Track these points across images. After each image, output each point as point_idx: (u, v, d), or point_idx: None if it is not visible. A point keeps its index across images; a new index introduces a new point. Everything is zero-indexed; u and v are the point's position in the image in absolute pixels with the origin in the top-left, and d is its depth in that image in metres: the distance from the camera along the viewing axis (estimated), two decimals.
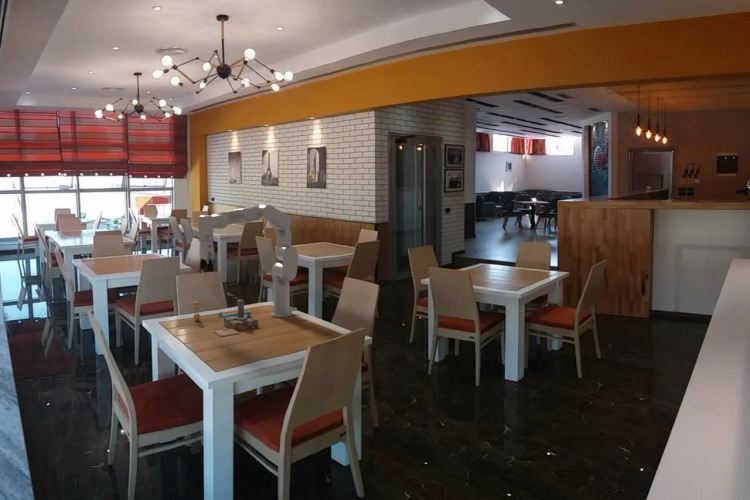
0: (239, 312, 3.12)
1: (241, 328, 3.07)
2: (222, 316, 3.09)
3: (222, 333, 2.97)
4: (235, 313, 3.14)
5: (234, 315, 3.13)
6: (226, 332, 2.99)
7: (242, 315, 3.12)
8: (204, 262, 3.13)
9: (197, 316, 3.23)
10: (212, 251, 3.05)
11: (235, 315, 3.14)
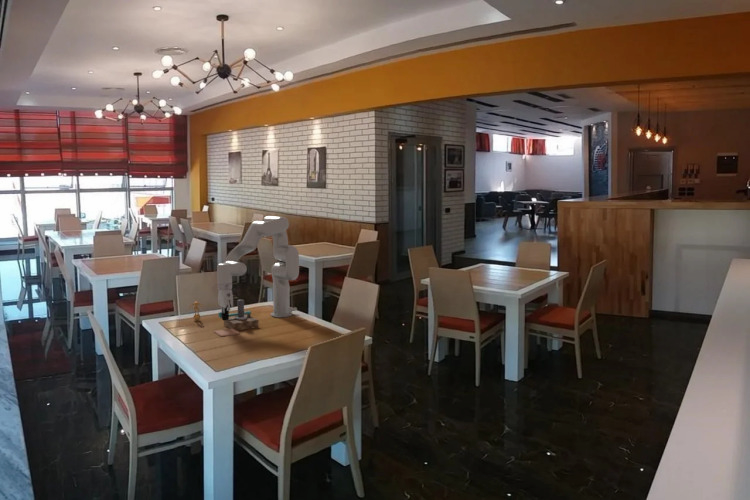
0: (239, 312, 3.12)
1: (241, 328, 3.07)
2: None
3: (222, 333, 2.97)
4: (235, 313, 3.14)
5: (234, 315, 3.14)
6: (226, 332, 2.99)
7: (242, 315, 3.12)
8: None
9: (197, 316, 3.23)
10: (231, 299, 3.04)
11: (235, 315, 3.14)
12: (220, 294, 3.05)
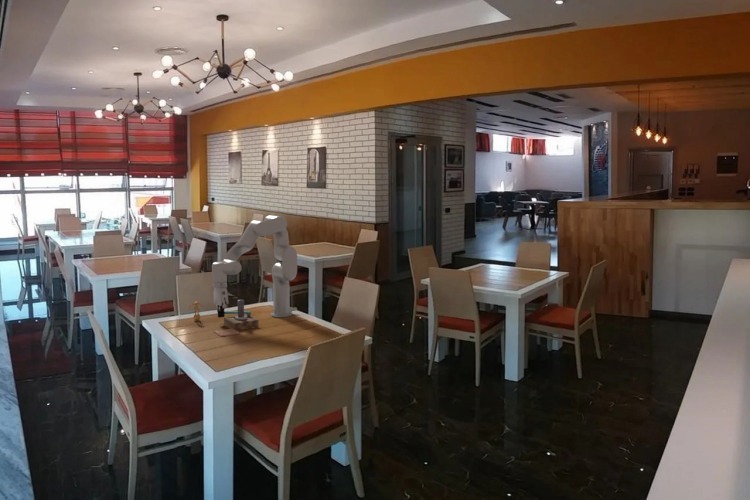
0: (239, 312, 3.12)
1: (241, 328, 3.07)
2: None
3: (222, 333, 2.97)
4: (234, 311, 3.19)
5: (232, 313, 3.18)
6: (226, 332, 2.99)
7: (242, 315, 3.12)
8: None
9: (197, 316, 3.23)
10: (226, 297, 3.11)
11: (233, 313, 3.18)
12: (215, 292, 3.12)
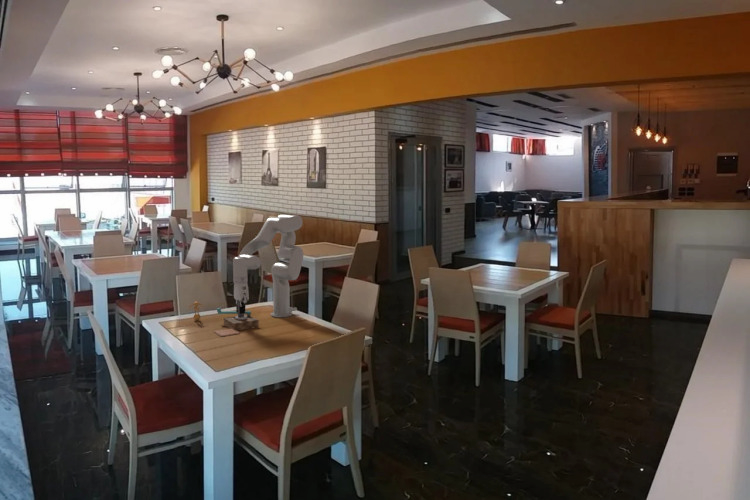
0: (239, 312, 3.12)
1: (241, 328, 3.07)
2: (220, 312, 3.18)
3: (222, 333, 2.97)
4: (234, 311, 3.19)
5: (232, 313, 3.18)
6: (226, 332, 2.99)
7: (242, 315, 3.12)
8: None
9: (197, 316, 3.23)
10: (247, 292, 3.09)
11: (233, 313, 3.18)
12: (236, 287, 3.10)
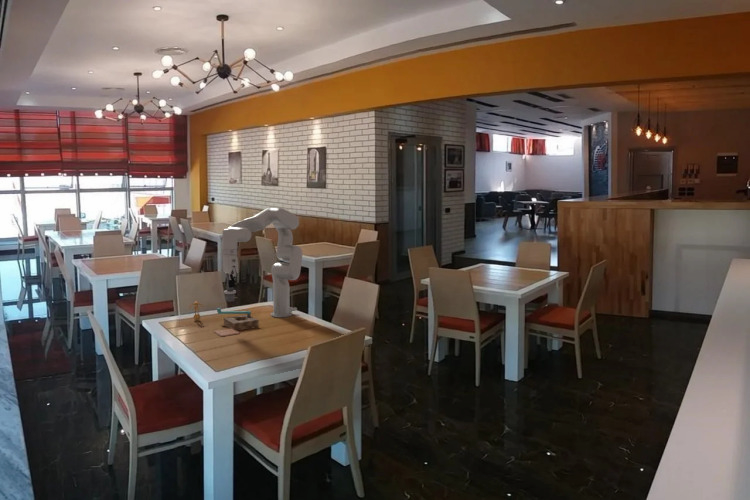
0: (228, 286, 2.99)
1: (241, 328, 3.07)
2: (220, 312, 3.18)
3: (222, 333, 2.97)
4: (234, 311, 3.19)
5: (232, 313, 3.18)
6: (226, 332, 2.99)
7: (231, 289, 3.00)
8: None
9: (197, 316, 3.23)
10: (236, 265, 2.97)
11: (233, 313, 3.18)
12: (225, 260, 2.98)
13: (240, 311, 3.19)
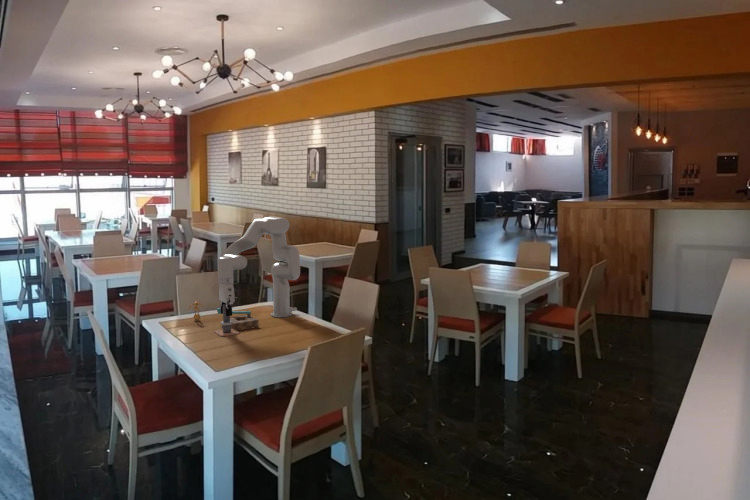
0: (224, 317, 2.97)
1: (241, 328, 3.07)
2: (220, 312, 3.18)
3: (222, 333, 2.97)
4: (234, 311, 3.19)
5: (232, 313, 3.18)
6: None
7: (228, 320, 2.98)
8: None
9: (197, 316, 3.23)
10: (232, 294, 2.94)
11: (233, 313, 3.18)
12: (221, 289, 2.95)
13: (240, 311, 3.19)
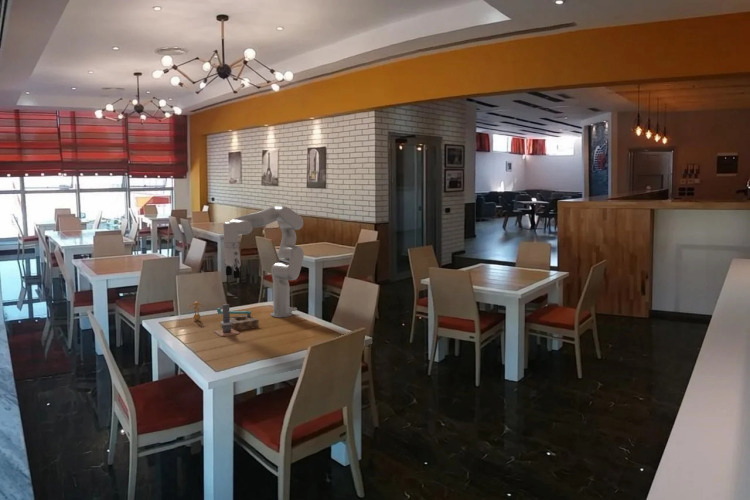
0: (224, 317, 2.97)
1: (241, 328, 3.07)
2: (220, 312, 3.18)
3: (222, 333, 2.97)
4: (234, 311, 3.19)
5: (232, 313, 3.18)
6: None
7: (227, 320, 2.98)
8: (230, 269, 3.10)
9: (197, 316, 3.23)
10: (238, 258, 3.02)
11: (233, 313, 3.18)
12: (227, 253, 3.03)
13: (240, 311, 3.19)
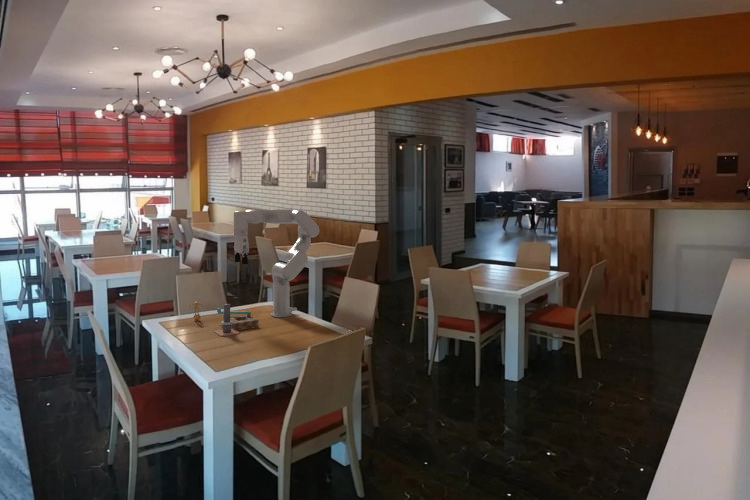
0: (225, 317, 2.98)
1: (241, 328, 3.07)
2: (220, 312, 3.18)
3: (222, 333, 2.97)
4: (234, 311, 3.19)
5: (232, 313, 3.18)
6: None
7: (228, 320, 2.98)
8: (238, 256, 3.24)
9: (197, 316, 3.23)
10: (247, 245, 3.17)
11: (233, 313, 3.18)
12: (236, 240, 3.18)
13: (240, 311, 3.19)
